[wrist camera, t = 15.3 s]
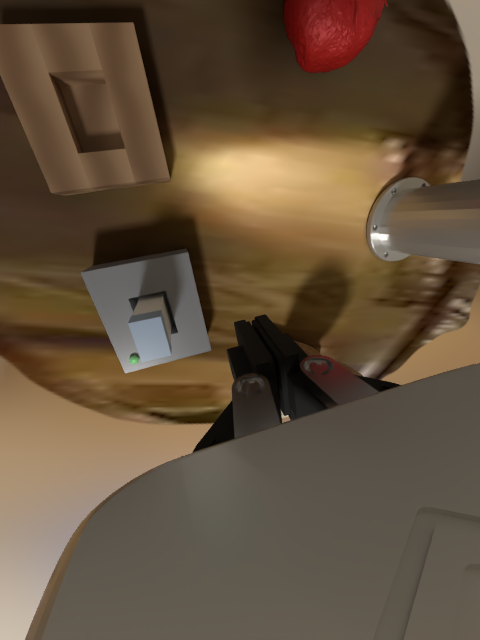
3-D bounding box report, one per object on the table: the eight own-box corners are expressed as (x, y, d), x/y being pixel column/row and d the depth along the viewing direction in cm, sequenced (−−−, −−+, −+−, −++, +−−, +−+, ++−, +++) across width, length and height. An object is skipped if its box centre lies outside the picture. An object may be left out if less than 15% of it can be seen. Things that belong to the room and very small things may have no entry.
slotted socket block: (137, 44, 24) (133, 22, 21) (170, 181, 29) (170, 177, 26) (2, 49, 21) (-22, 24, 19) (63, 195, 26) (51, 192, 24)
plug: (163, 288, 33) (160, 316, 23) (171, 318, 35) (171, 355, 25) (140, 293, 32) (127, 323, 23) (150, 323, 34) (141, 362, 25)
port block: (186, 248, 32) (188, 252, 28) (207, 336, 38) (211, 351, 34) (92, 265, 30) (79, 273, 26) (130, 356, 36) (124, 375, 31)
